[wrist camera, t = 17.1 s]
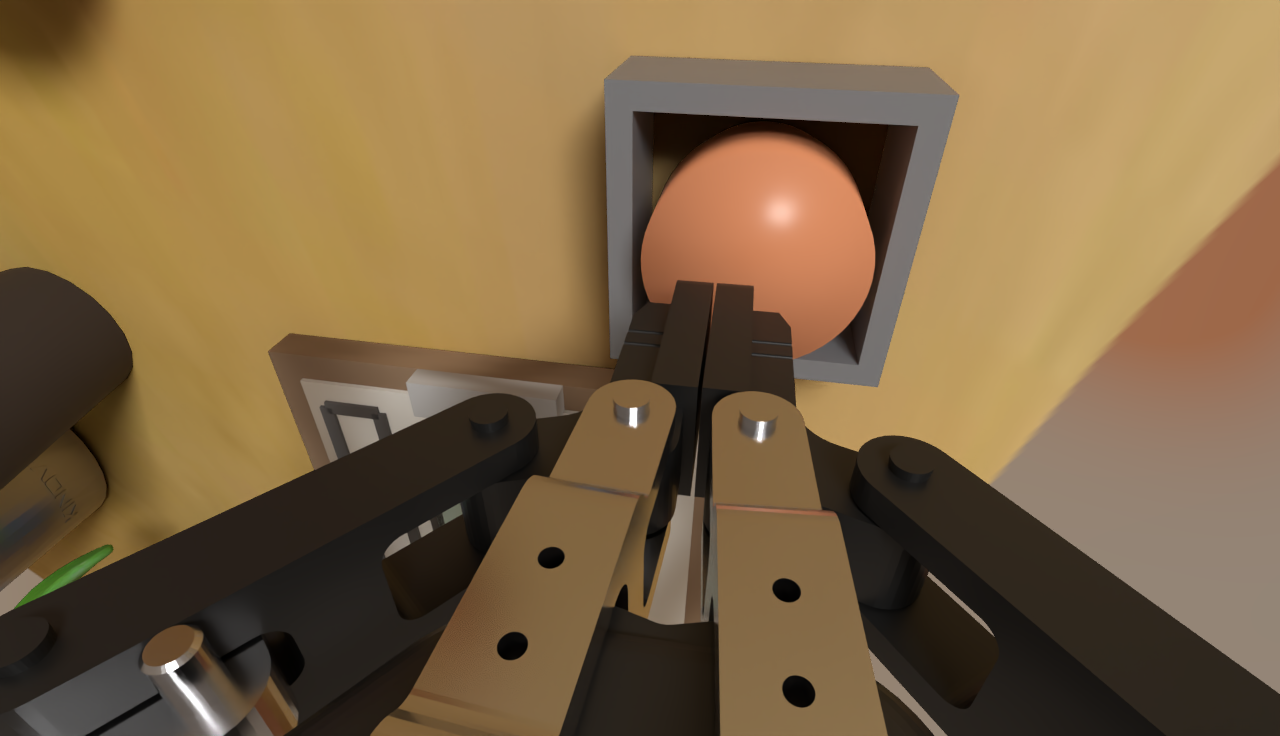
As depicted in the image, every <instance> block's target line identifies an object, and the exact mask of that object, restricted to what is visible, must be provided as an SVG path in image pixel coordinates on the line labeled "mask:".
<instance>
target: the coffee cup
mask: <svg viewBox="0 0 1280 736" xmlns="http://www.w3.org/2000/svg"><path fill="white" fill-rule="evenodd" d="M132 367H133V366H132V351H131V349H130V347H129V344H128V342H127V340H126V337H125V335H124V333H123V332H122V330H121V329H120V328H119V326H118V325H117V323H116V322H115V321H114V319H113V318H112V317H111V315H110V314H109V313H108V312H107V311H106V310H105V309H104V308H103V307H101V306H100V305H99V304H98V303H97V302H96V301H95V300H94V299H93V298H92V297H91V296H89V295H88V294H87V293H85V292H84V291H82V290H81V289H79V288H78V287H76V286H75V285H74V284H72V283H71V282H69V281H67V280H65V279H62V278H60V277H58V276H56V275H54V274H52V273H49V272H47V271H43V270H38V269H33V268H29V267H22V268H14V269H9V270H5V271H2V272H0V490H1V489H3V488H4V487H5V486H6V485H7V484H8V483H9V482H10V481H12V480H13V479H14V478H15V477H16V476H17V475H18V474H19V473H21V472H22V471H23V470H24V469H25V468H26V467H27V466H28V465H30V464H31V463H32V462H33V461H34V460H35V459H36V458H37V457H39V456H40V455H41V454H42V453H43V452H44V451H45V450H46V449H47V448H49V447H50V446H51V445H52V444H53V443H54V442H55V441H56V440H58V439H59V438H60V437H61V436H62V435H63V434H64V433H65V432H67V431H68V430H69V429H70V428H71V427H72V426H73V425H74V424H76V423H77V422H78V421H79V420H80V419H81V418H82V417H83V416H85V415H86V414H87V413H88V412H89V411H90V410H91V409H92V408H94V407H95V406H96V405H97V404H98V403H99V402H100V401H101V400H102V399H104V398H105V397H106V396H107V395H108V394H109V393H110V392H111V391H113V390H114V389H115V388H116V387H117V386H118V385H119V384H120V383H122V382H123V381H124V380H125V379H126V378H127V377H128V375H129V373H130V371H131V369H132Z"/></svg>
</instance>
